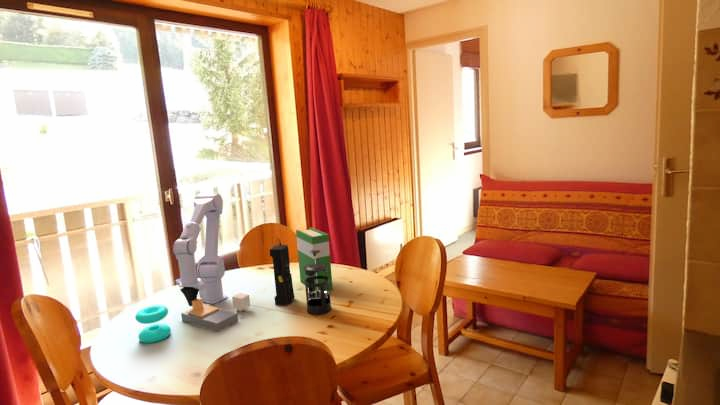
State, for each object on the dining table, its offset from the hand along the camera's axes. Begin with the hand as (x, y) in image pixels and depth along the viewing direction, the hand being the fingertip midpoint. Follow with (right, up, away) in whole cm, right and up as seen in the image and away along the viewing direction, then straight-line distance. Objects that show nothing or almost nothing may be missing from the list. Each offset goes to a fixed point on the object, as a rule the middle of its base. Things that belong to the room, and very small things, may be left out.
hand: (192, 305), depth 161 cm
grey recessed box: (+8, -5, -4) cm, 10 cm away
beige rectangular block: (+18, -3, +4) cm, 18 cm away
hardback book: (+44, +2, +26) cm, 51 cm away
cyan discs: (-7, -8, -14) cm, 18 cm away
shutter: (+5, -2, -3) cm, 6 cm away
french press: (+47, -2, 0) cm, 47 cm away
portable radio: (+33, -1, +9) cm, 34 cm away
